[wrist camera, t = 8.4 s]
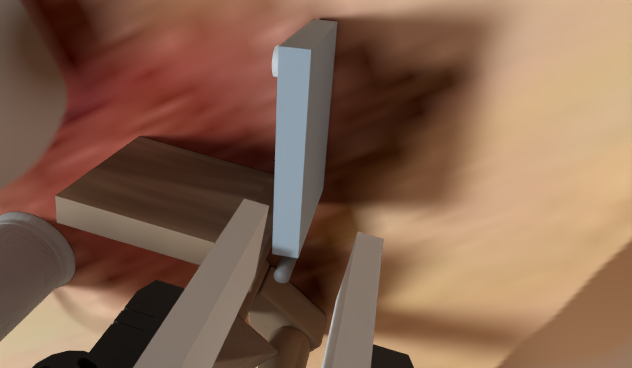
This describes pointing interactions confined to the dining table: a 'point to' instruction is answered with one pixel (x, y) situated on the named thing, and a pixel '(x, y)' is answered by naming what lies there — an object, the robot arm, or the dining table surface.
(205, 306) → the robot arm
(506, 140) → the dining table surface
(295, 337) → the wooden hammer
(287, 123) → the door
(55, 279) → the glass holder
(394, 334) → the dining table surface
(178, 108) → the dining table surface
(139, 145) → the notched wooden plank
